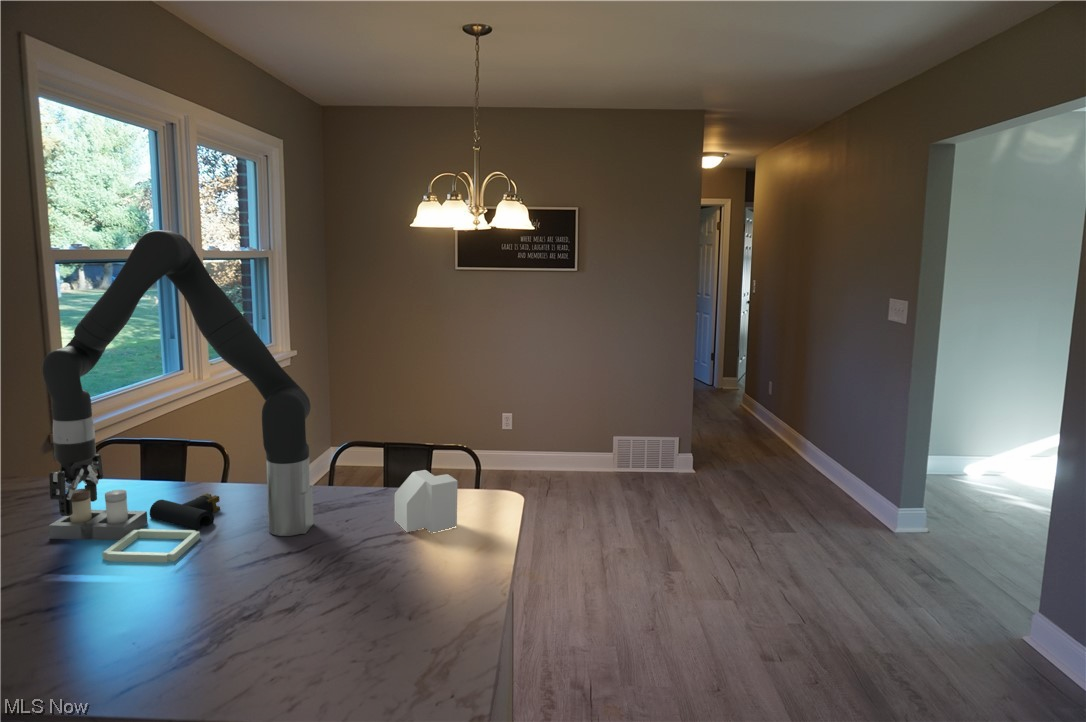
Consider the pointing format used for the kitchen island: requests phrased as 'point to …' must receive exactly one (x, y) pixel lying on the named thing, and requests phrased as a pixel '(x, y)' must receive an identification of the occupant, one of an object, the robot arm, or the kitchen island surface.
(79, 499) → the cylinder
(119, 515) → the cylinder
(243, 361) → the robot arm
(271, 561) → the kitchen island surface
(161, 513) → the pipe connector
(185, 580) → the kitchen island surface
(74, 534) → the fuse block
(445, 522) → the pale house-shaped block
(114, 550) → the parts tray
